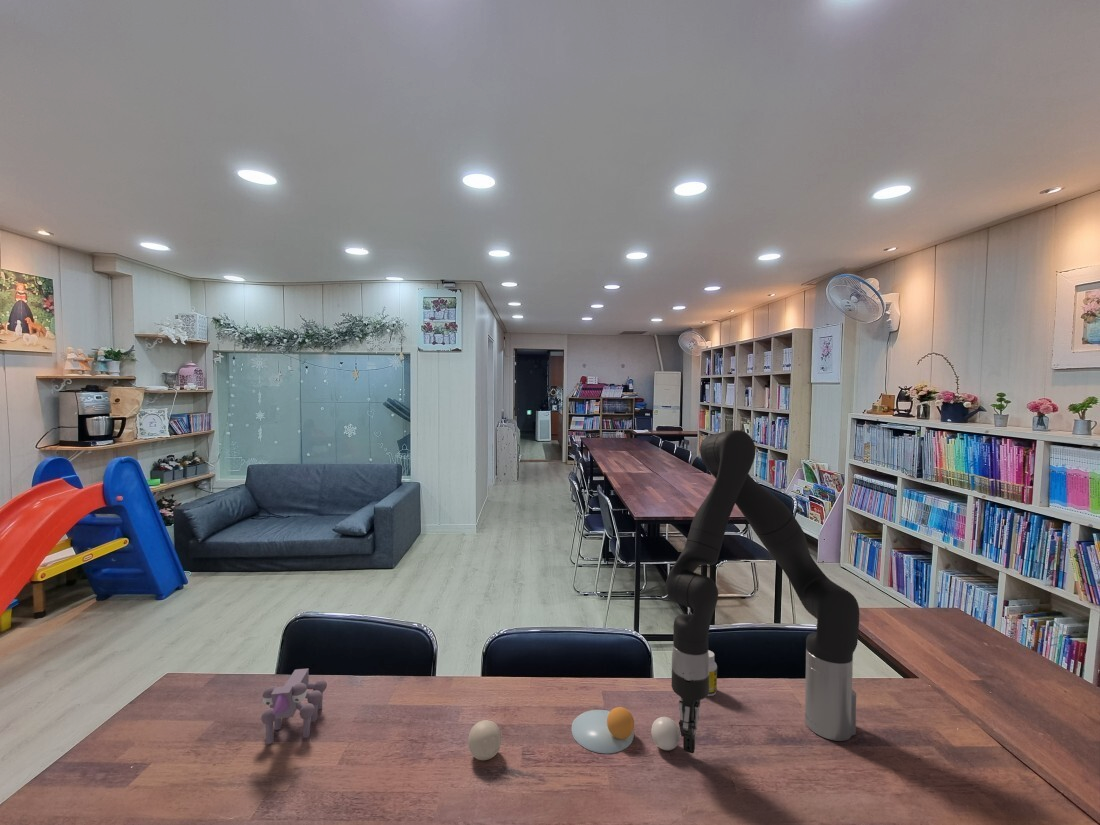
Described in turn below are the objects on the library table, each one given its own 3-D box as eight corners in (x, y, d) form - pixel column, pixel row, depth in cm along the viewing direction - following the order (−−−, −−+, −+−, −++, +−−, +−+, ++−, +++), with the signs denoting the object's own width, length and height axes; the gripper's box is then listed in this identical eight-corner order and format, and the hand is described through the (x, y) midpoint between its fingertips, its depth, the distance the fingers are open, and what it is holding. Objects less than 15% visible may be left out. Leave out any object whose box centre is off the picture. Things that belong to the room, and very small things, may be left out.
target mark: (624, 709, 114) (624, 708, 114) (641, 751, 100) (641, 750, 100) (567, 712, 112) (567, 711, 112) (576, 755, 98) (576, 754, 98)
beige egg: (475, 774, 93) (475, 741, 93) (464, 750, 99) (464, 719, 99) (506, 762, 96) (507, 730, 96) (494, 740, 103) (494, 710, 103)
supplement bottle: (718, 698, 118) (718, 659, 118) (695, 695, 119) (696, 657, 119) (715, 685, 124) (715, 649, 123) (693, 683, 125) (694, 646, 124)
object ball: (639, 715, 107) (614, 700, 109) (637, 717, 101) (612, 702, 104) (628, 743, 105) (604, 727, 107) (626, 747, 99) (601, 730, 102)
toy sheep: (302, 766, 95) (299, 699, 94) (244, 776, 93) (240, 708, 92) (330, 704, 114) (327, 649, 114) (282, 711, 112) (279, 655, 112)
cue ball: (676, 712, 104) (657, 727, 106) (660, 709, 101) (641, 724, 103) (690, 742, 99) (670, 757, 101) (674, 739, 96) (653, 755, 98)
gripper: (677, 649, 105) (676, 725, 106) (666, 680, 93) (665, 766, 94) (712, 656, 102) (711, 735, 103) (705, 690, 90) (704, 779, 91)
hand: (689, 750), depth 98 cm, fingers closed
